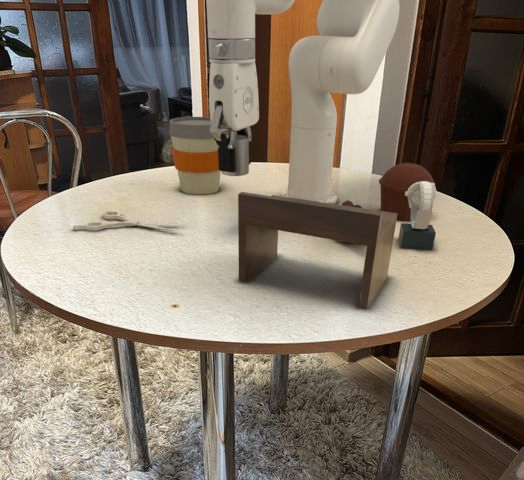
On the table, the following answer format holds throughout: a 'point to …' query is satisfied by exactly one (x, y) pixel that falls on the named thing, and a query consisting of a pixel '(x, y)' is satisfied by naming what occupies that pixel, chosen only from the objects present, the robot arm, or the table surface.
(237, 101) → the robot arm
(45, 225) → the table surface
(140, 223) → the scissors
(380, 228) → the shelf
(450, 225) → the table surface
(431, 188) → the head sculpture
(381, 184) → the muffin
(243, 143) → the grey upright cylinder
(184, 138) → the reusable coffee cup
